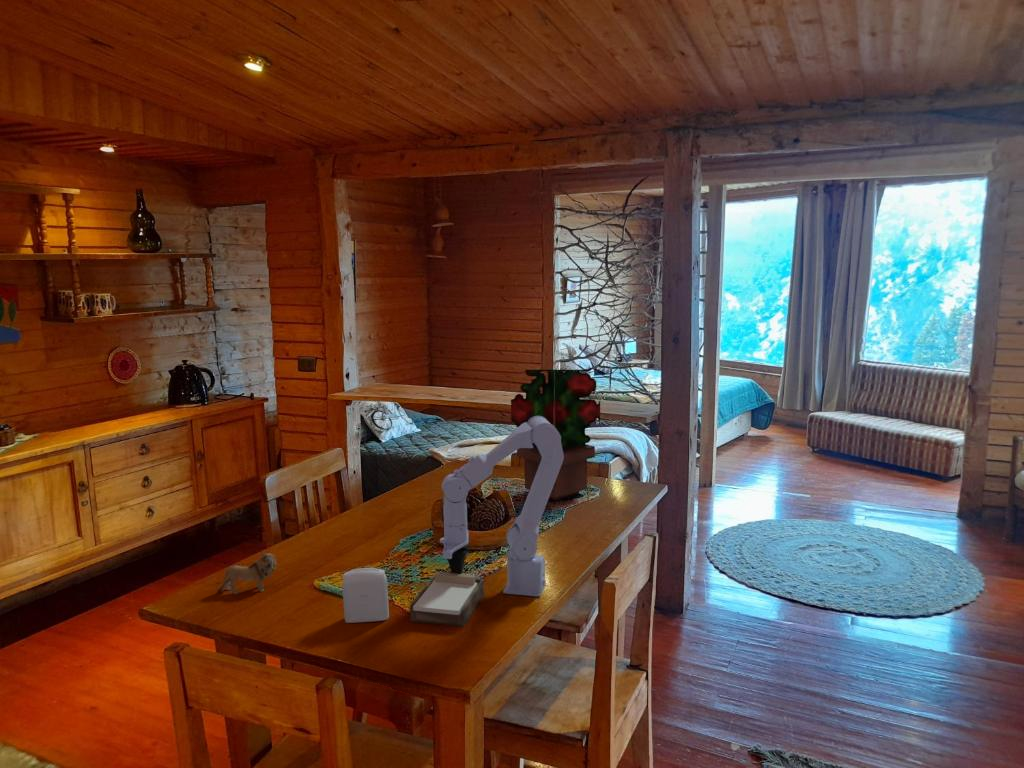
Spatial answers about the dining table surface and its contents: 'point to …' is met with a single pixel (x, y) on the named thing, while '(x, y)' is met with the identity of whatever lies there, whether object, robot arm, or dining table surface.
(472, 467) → the robot arm
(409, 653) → the dining table surface
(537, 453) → the potted plant
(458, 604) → the cover plate
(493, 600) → the dining table surface
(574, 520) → the dining table surface
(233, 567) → the lion figurine
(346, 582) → the photo printer
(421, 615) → the walnut box
